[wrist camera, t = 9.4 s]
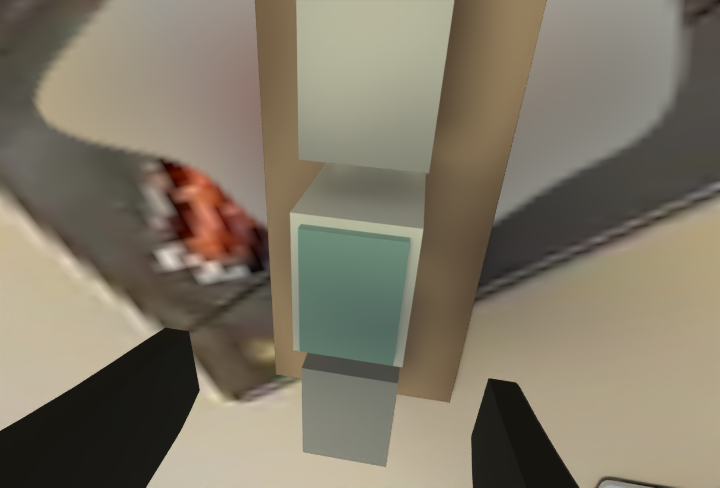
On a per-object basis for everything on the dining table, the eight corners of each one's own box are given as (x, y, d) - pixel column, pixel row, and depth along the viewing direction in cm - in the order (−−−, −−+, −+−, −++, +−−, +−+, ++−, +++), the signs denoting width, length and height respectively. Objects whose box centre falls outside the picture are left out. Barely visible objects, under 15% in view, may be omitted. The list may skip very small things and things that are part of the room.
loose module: (426, 159, 16) (423, 234, 11) (410, 268, 18) (401, 374, 13) (334, 150, 16) (286, 217, 11) (331, 257, 19) (290, 356, 13)
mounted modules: (452, -32, 13) (462, -55, 9) (395, 377, 22) (385, 466, 18) (339, -38, 13) (295, -63, 9) (328, 366, 22) (302, 452, 18)
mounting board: (564, -98, 13) (571, -104, 12) (449, 391, 24) (449, 402, 23) (257, -109, 14) (248, -116, 13) (280, 364, 25) (276, 374, 24)
